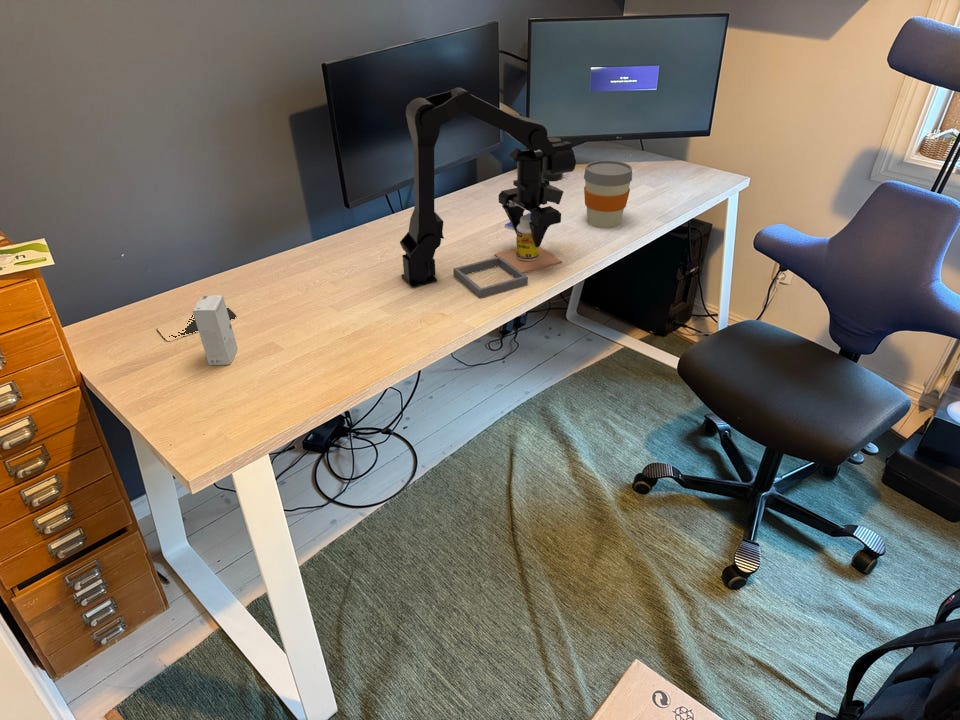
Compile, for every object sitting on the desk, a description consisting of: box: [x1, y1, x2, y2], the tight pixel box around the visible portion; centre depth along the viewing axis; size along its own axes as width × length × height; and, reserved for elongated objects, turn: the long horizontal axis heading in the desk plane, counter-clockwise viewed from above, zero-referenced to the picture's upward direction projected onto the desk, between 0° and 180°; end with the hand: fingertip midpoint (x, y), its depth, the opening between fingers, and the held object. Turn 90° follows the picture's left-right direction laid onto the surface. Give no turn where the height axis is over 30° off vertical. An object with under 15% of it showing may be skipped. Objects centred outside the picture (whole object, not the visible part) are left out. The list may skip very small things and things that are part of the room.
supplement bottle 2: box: [542, 137, 564, 182], centre depth 212 cm, size 7×7×12 cm
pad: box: [493, 245, 563, 274], centre depth 166 cm, size 12×12×1 cm
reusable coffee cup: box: [583, 159, 633, 229], centre depth 181 cm, size 13×13×15 cm
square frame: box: [452, 256, 529, 299], centre depth 157 cm, size 13×13×2 cm
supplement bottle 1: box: [515, 214, 539, 261], centre depth 163 cm, size 6×6×10 cm
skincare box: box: [192, 294, 238, 366], centre depth 129 cm, size 6×4×12 cm
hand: (527, 240), depth 164 cm, fingers open, 8 cm apart
